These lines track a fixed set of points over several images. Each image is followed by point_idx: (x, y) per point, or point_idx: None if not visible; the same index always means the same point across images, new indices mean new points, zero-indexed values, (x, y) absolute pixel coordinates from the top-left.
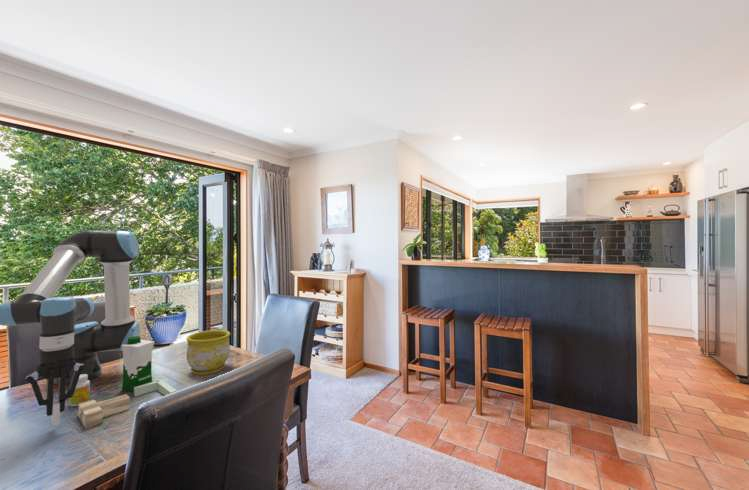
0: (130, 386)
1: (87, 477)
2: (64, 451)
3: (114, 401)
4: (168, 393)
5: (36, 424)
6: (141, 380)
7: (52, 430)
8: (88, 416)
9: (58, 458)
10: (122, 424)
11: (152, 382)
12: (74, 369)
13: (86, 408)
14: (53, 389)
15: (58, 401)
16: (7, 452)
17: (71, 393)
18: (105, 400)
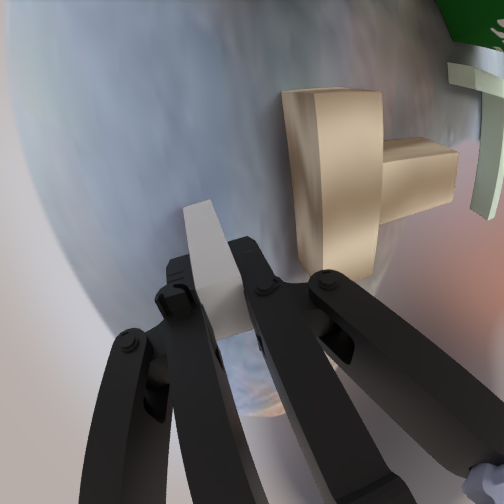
0: (458, 17)
1: (278, 411)
2: (245, 357)
3: (421, 206)
4: (485, 201)
5: (104, 76)
6: (495, 49)
7: (188, 202)
8: None
9: (237, 374)
10: (371, 286)
11: (500, 83)
12: (467, 494)
13: (339, 209)
14: (250, 453)
15: (242, 295)
16: (92, 301)
17: (338, 342)
18: (408, 162)
